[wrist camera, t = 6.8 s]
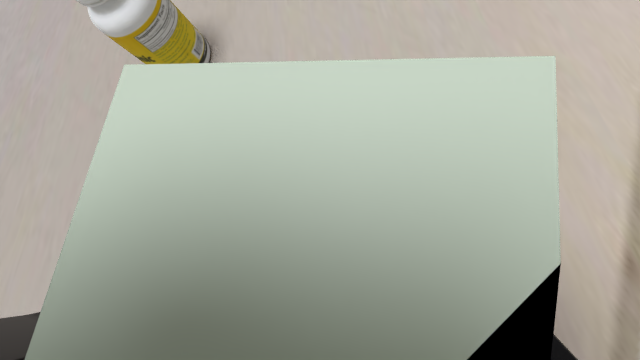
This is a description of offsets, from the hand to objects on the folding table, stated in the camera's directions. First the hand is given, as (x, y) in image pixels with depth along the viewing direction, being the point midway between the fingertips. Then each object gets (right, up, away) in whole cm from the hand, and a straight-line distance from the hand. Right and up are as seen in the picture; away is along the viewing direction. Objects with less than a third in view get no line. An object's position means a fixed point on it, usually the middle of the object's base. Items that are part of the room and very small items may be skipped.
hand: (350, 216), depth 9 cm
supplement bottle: (-14, +13, +17) cm, 26 cm away
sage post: (+1, -3, +6) cm, 7 cm away
